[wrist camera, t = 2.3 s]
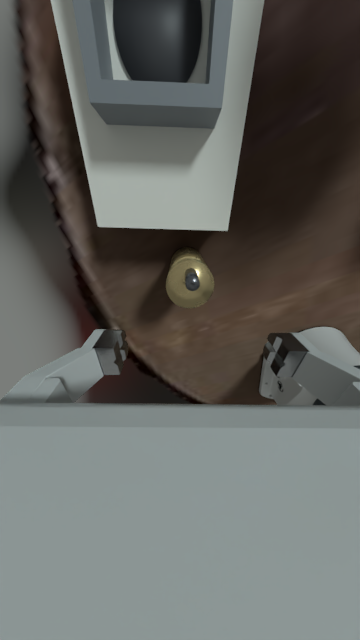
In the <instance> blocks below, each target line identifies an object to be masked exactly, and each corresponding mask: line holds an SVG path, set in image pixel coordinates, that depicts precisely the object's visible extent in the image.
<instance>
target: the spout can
mask: <svg viewBox="0 0 360 640" xmlns="http://www.w3.org/2000/svg"><path fill="white" fill-rule="evenodd" d="M213 290H214V278H213V276H212V274H211V272H210V270H209V268H208V267H207V265H206V263H205V262H204V260H203V258H202V256H201V255H200V253H199V252H198V251H197V250H196V249H194V248H191V247H183V248H180V249H178V250H177V251H176V252H175V253H174V254H173V256H172V259H171V263H170V267H169V271H168V276H167V280H166V291H167V294H168V296H169V298H170V299H171V300H172V301H173V302H174V303H175V304H176V305H178V306H180V307H184V308H195V307H198V306H201V305H202V304H204V303H205V302H206V301H208V299H209V298H210V297H211V295H212V293H213Z"/></svg>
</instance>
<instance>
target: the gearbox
mask: <svg viewBox="0 0 360 640" xmlns="http://www.w3.org/2000/svg"><path fill="white" fill-rule="evenodd" d="M51 3H52V8H53V13H54V18H55V23H56V28H57V32H58V37H59V42H60V47H61V52H62V56H63V61H64V66H65V71H66V76H67V81H68V85H69V90H70V95H71V100H72V105H73V109H74V114H75V119H76V124H77V129H78V134H79V138H80V143H81V148H82V153H83V158H84V162H85V167H86V172H87V177H88V182H89V187H90V191H91V196H92V201H93V206H94V211H95V215H96V220H97V225H98V227H114V228H146V229H179V230H211V231H228V225H229V219H230V213H231V206H232V200H233V194H234V188H235V181H236V175H237V169H238V162H239V156H240V150H241V144H242V137H243V131H244V125H245V118H246V112H247V106H248V100H249V93H250V87H251V81H252V74H253V68H254V62H255V56H256V49H257V43H258V37H259V30H260V24H261V18H262V12H263V5H264V0H51Z"/></svg>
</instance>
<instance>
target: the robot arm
mask: <svg viewBox="0 0 360 640" xmlns="http://www.w3.org/2000/svg"><path fill="white" fill-rule="evenodd" d="M125 338H126V333H125V331H124V330H111V329H96V330H94V332H93V333H92V334H91V335H90V337H89V338H88V339H87V341H86V342H85V343H84V345H83V346H82V347H81V348H77V349H76V350H74V351H72V352H70V353H68V354H66V355H64V356H62V357H60V358H58V359H57V360H55V361H53V362H51V363H49V364H47V365H45V366H43V367H41V368H40V369H38V370H36V371H34V372H32V373H30V374H28V375H26V376H24V377H23V378H22V379H21V380H20V381H19V382H18V383H17V384H16V385H15V386H14V387H13V388H12V389H11V390H10V391H9V392H8V393H7V394H6V395H5V396H4V397H3V398H2V399H1V400H0V640H360V354H359V353H358V352H357V351H356V350H355V349H354V347H353V346H352V345H351V344H350V343H349V341H348V340H347V339H346V337H345V336H344V334H343V333H342V332H341V331H339V330H337V329H335V328H331V327H316V328H311V329H307V330H304V331H302V332H299V333H270V334H269V335H268V338H267V339H268V341H269V342H268V343H266V344H265V346H264V348H263V354H264V358H263V365H262V372H261V379H260V386H259V393H260V394H261V395H262V396H264V397H266V398H270V399H274V400H275V402H276V403H277V405H231V404H129V403H126V404H125V403H74V402H75V401H76V400H77V399H78V398H80V397H81V396H82V395H83V394H84V393H85V392H86V391H87V390H88V389H90V388H91V387H92V386H93V385H94V384H95V383H96V382H97V381H98V380H99V379H101V378H102V377H103V376H104V375H120V373H121V370H122V368H123V365H124V364H123V361H124V360H125V359H126V357H127V354H128V343H127V342H126V341H125Z"/></svg>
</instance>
